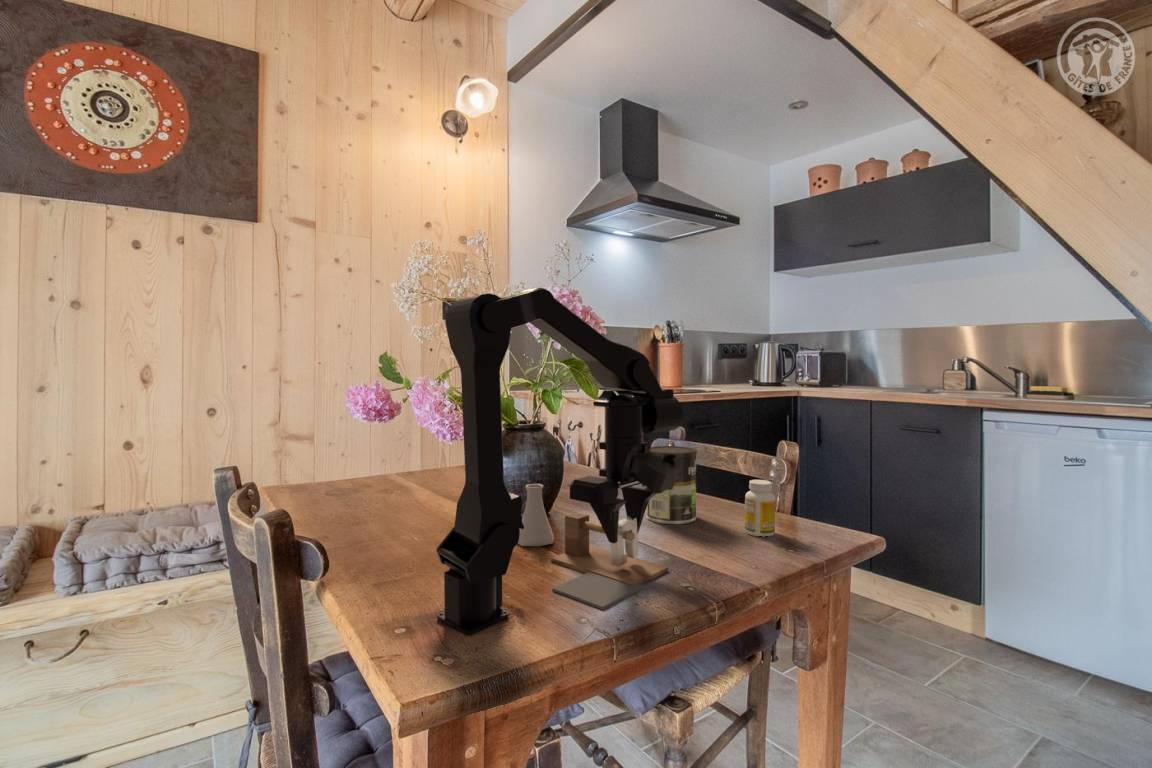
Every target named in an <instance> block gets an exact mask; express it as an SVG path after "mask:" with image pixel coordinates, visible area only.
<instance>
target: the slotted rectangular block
mask: <svg viewBox="0 0 1152 768" xmlns="http://www.w3.org/2000/svg"><path fill="white" fill-rule="evenodd" d="M628 531H629V532H632V533H634V535H635V538H634V539H633V540H627V539H623V534H624V533H626V532H628ZM638 534H639V533H638ZM638 534H637V518H636V517H631V516H628V517H627V516H626V517H625V518H623V519H621V520H619V521H618V534H617V541H616V543H610V542H609V543H610V544H609V545H610V551H611V563H612V565H614V566H618V567H620V566H621V565H623V564H625V563H626V562H627V557H630V558H638V556H639V541H638V540H639V539H638V538H639V537H638Z"/></svg>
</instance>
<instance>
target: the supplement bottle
mask: <svg viewBox="0 0 1152 768" xmlns="http://www.w3.org/2000/svg"><path fill="white" fill-rule="evenodd" d="M748 489H749V491H747V492H746V493H745V496H744V531H745V533H746V534H747V535H749V534H750V535H749V536H754V537H759V536H762V538H763V537H764V538H765V536H768V537H772V536H773V535H775V533H776V495H775V494H774V493H772V492H771V491H772V489H773V482H772V481H769V480H767V479H751V480H749V483H748Z"/></svg>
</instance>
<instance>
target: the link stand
mask: <svg viewBox="0 0 1152 768" xmlns="http://www.w3.org/2000/svg"><path fill="white" fill-rule="evenodd" d="M590 531H592V532H597V533H601V534H605V532H604V530H603V528H602V526H601V524H600V523H596V522H592V521H590V515H589V514H587V513H582V512H578V511H577V512H573V513H569V514H566V515H564V553H561V554H558V555H556V556H553V557H551V558H550V559H551V561H550V562H551V563H554V564H557V565H560V566H561V567H562V566H563V567H567V568H569V569H572V570H576V571H577V572H578V571H579V572H581V573H583V574H586V573H588V572H592V573H595V574H598V575H601V576H604V577H607V578H610V579H613V580H616V581H619V582H623V583H626V584H629V585H632V586H634V585H636V584H639V585H643V584H645V583H647V582H650V581H651V580H653V579H656V578H657V577H659V576H661V575H663V574H665V573H666V572H668V571H669V566H666V565H662V564H659V563H656V562H653V561H652V562H651V561H648V560H645V559H641V558H638V557H635V558H630V557H627V562H626V563H625V564H623V565H621V566H620V567H618V566H614V565H612V563H611V549H606V548H602V547H599V546H595V545H592V544H590ZM605 535H606V534H605ZM634 538H635V535H634V533H632V532H629V531H628V532H626V533H624V534H623V540H625V539H627V540H633V539H634Z"/></svg>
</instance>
